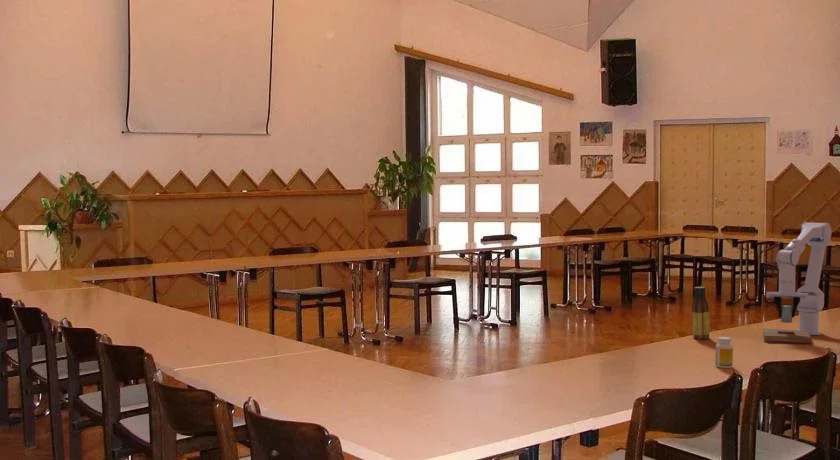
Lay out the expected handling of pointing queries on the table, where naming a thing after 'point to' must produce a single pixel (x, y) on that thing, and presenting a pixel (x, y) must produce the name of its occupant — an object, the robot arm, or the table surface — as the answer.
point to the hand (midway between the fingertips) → (786, 316)
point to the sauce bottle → (700, 315)
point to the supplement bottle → (724, 353)
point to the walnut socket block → (786, 336)
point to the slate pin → (786, 314)
